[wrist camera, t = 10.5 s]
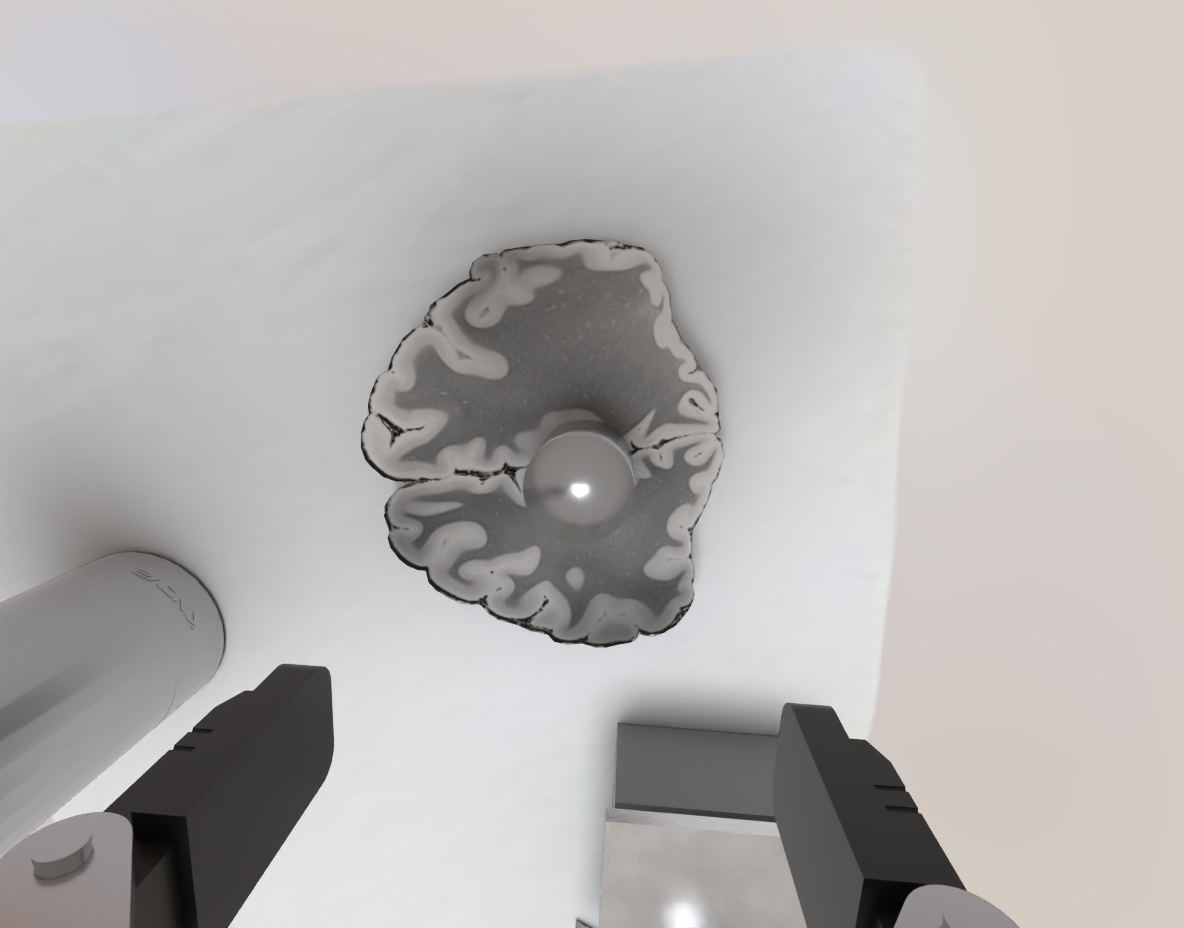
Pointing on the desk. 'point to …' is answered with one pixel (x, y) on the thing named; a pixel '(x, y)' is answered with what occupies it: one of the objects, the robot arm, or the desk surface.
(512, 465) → the brain slice
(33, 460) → the desk surface
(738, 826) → the pan
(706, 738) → the scale
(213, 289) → the desk surface
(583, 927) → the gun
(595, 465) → the cylinder
